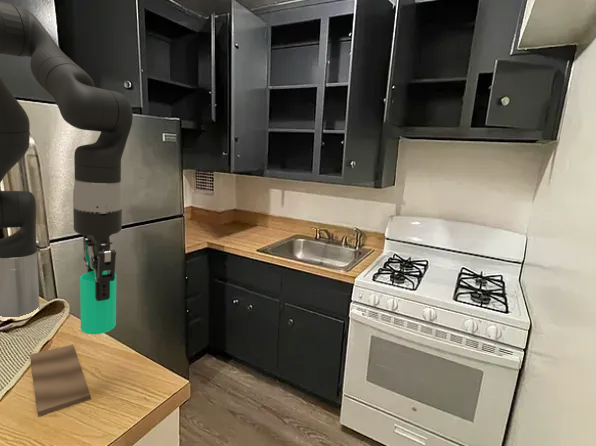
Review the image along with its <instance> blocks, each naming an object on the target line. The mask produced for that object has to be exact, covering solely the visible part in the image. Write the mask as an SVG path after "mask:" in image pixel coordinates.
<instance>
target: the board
mask: <svg viewBox="0 0 596 446" xmlns="http://www.w3.org/2000/svg"><path fill="white" fill-rule="evenodd" d="M76 351H77V350H76V349H75V345H74V344H69V345H65V346H59V347H57V348H52V349H47V350H44V351H39V352H34V353H30V354H29V360H30V359H31V361H30V368H31V374H32V382H33V389H34V397H35V404H36V409H37V417H41V416H44V415H47V414H50V413H54V412H55V411H59V410H62V409H66V408H69V407H71V406H74V405H78V404H81V403H83V402H86V401H89V400H91V393H90V389H89V387H88V384H87V381H86V378H85V375H84V373H83V369H82V367H81V364H80V363H81V362H80V360H79V358H78V354H77V352H76Z"/></svg>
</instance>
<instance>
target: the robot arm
mask: <svg viewBox="0 0 596 446" xmlns="http://www.w3.org/2000/svg"><path fill="white" fill-rule="evenodd" d="M0 55H8V56H15V57H21V58H22V57H27V58H28V57H29V58H30V65H29V66H30V71H31V73H32V76H33V77H34V79H35V80H36V82H37V83H38V84H39V85H40V86H41V87H42V88H43V90H45V91H46V92H47V93H48V94H49V95H50V96H51V97H53V99H54V102H55V103H56V105H57V108H58V110H59V112H60V115H61V117H62V119H63V121H65V122H66V123H67V124H68V125H70V126H71V127H74V128H76V129H79V130H82V131H91V132H92V131H93V132H100V134H99V136H98V137H97V140H96V141H95V142H93V143H87V144H83V145H80V146H78V147H76V148H75V151H74V155H73V156H74V158H73V159H74V160H73V161H74V163H73V164H74V183H73V184H74V185H73V191H72V196H73V197H72V205H73V207H72V209H73V210H72V211H73V217H72V218H73V231H74V232H75V233H77V234H78V235H82V239H83V243H82V244H83V261H84V262H85V267H86V270H87V272H91V271H94V274H95V278H94V280H95V298H96V300H97V301H102V300H107V299H109V298H110V281H114V279H115V273H116V258H117V257H116V255H117V251H116V250H115V249H114V243H113V242H112V241H110V238H111V236H113V235H116V234H118V233H120V232H121V231H122V226H123V223H122V221H123V192H122V190H123V189H122V182H121V181H122V157H123V155H124V151H125V149H126V146H127V141H128V138H129V135H130V133H131V130H132V129H131V128H132V125H133V119H134V117H133V116H134V115H133V114H134V113H133V109H132V105H131V102H130V101H129V99H128V98H127V97H126V96H125V95H124V94H123V93H121V92H118V91H114V90H110V89H104V88H100V87H96V86H95V83H94V80H93V78H91V76H90V74H88V73H87V72H86V71H85V70H84V69H83V68H81V66H79V65H78V64H76V62H74V61H73V60H72V59H71V58H70V57H69V56H68V55H66V54H65V53H64V51H62V49H61V48H60V47H59V45H58V44H57V43H56V41H55V40H54V39H53V37H52V36H51V35H50V33H49V32H48V31H47V30H46V28H45V27H44V25H43V23H42V22H41V21H40V20H39V19H38V18H37V17H36V16H35V14H33V13H32V12H31V11H30V10H28V9H27V8H24V7H22V6H19V5H17V4H13V3H8V2H4V1H0ZM30 123H31V122H30V118H29V116H28V114H27V112H26V110H25V109H24V108H23V106H22V105H21V103H20V102H19V101H18V100H17V98H16V97H15V96H14V94H13V93H12V92H11V91H10V90H9V88H8V87H7V86H6V84H5V82H4V81H3V79H2V76H0V184H1V183H2V181H3V179H4V178H5V176H6V175H7V174H8V172H9V171H10V170H11V169H13V168H14V166H15V165H16V164H17V163H19V161H21V160H22V158H23V157H24V156H25V155H26V153H27V152H28V150H29V147H30V136H31V135H30V132H31V131H30V130H31V129H30V125H31V124H30ZM8 228H9V229H10V228H11V229H12V228H19V229H18V230H17V231H15V232H14V233H12V234H10V235H8V236H5V237H3V238H0V316H2V317H20V316H23V315H26V314H29V313H31V312H33V311H34V310H36V309H37V308H38V307H39V308H40V290H39V288H40V287H39V272H38V248H37V247H38V246H37V201H36V198H35V195H34V194H33V192H31V191H29V190H28V191H27V190H0V229H8ZM103 271H107V274H104V275H102V272H103ZM87 272H86V273H87Z"/></svg>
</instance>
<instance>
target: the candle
mask: <svg viewBox="0 0 596 446" xmlns="http://www.w3.org/2000/svg"><path fill="white" fill-rule="evenodd" d="M104 274H107V271H103V272H102V275H104ZM94 278H95V274H94V271H91V272H85V273H83V274H82V275H81V276H80V277H79V287H80V288H79V295H80V296H79V298H80V299H79V301H80V303H79V304H80V307H79V308H80V309H79V310H80V311H79V312H80V332H82V333H84V334H86V335H102V334H105V333H107V332H110V331H112V330H113V329H114V328H115V327H116V326H117V282H118V281H117V274H116V272H115V279H114V281H110V298H109V299H107V300H102V301H97V300H96V298H95V280H94Z"/></svg>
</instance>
